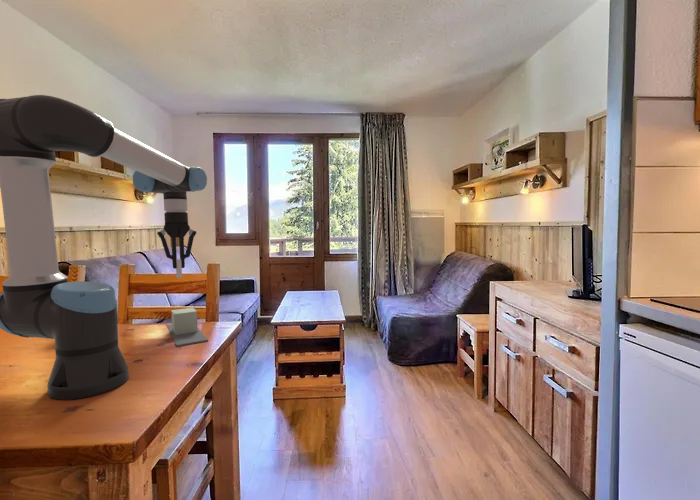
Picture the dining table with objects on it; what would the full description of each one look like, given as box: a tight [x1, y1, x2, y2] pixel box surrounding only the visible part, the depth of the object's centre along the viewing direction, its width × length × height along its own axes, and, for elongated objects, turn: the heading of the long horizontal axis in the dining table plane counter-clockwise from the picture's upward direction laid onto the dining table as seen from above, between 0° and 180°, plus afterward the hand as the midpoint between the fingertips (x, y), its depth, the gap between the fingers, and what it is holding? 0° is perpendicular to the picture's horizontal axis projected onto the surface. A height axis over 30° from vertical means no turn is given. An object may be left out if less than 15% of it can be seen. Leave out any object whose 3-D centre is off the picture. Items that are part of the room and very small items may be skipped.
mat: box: [165, 324, 209, 348], centre depth 124 cm, size 28×9×1 cm, turn 33°
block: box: [170, 307, 199, 335], centre depth 125 cm, size 7×7×7 cm
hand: (179, 277), depth 131 cm, fingers closed
